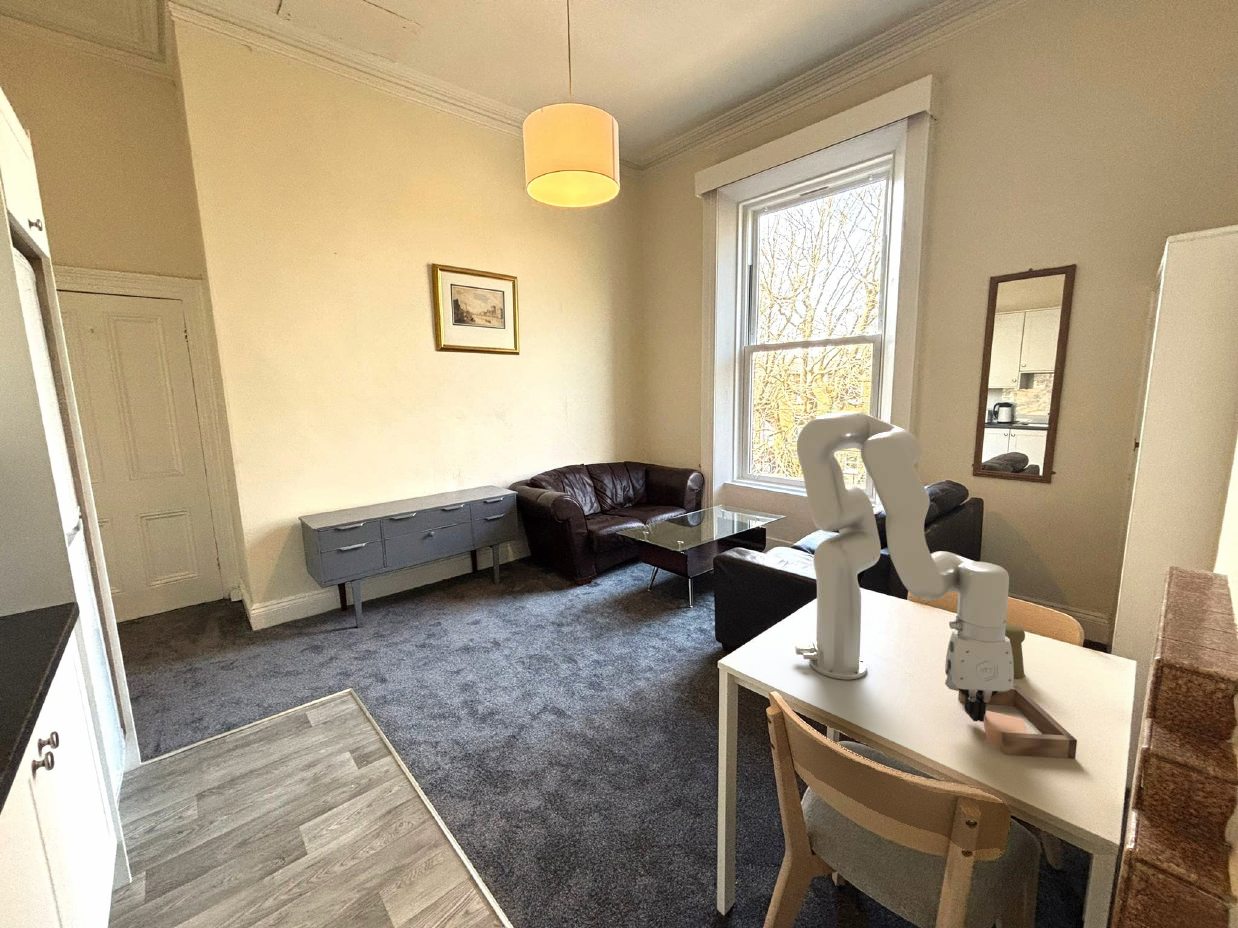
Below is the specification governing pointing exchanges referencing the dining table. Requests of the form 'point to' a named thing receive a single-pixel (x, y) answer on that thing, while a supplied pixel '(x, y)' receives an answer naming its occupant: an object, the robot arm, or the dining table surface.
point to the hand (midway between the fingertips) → (974, 716)
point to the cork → (1016, 648)
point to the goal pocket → (1042, 745)
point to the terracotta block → (1001, 726)
